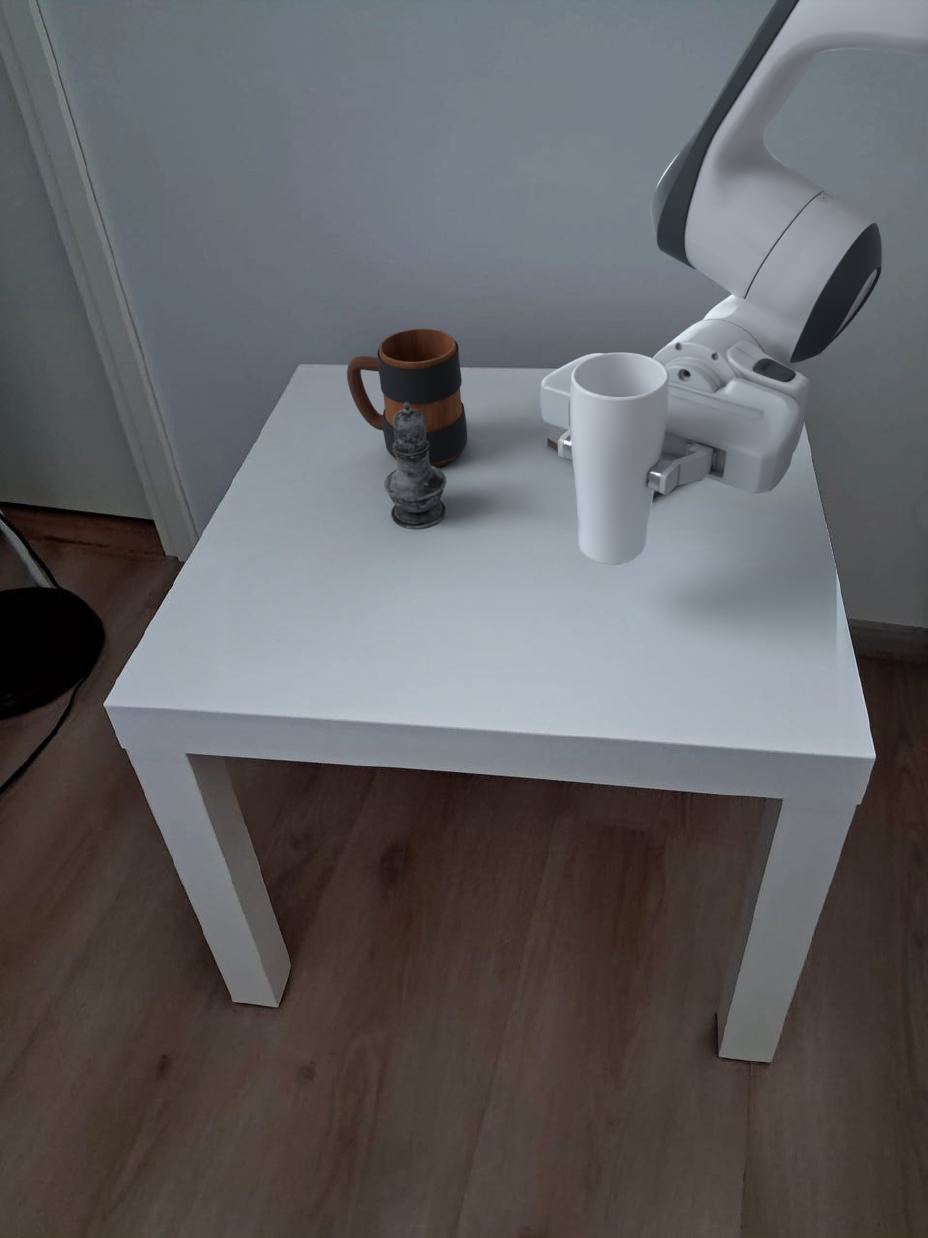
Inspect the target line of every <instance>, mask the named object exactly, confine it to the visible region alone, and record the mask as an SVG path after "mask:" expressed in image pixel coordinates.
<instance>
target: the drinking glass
mask: <svg viewBox="0 0 928 1238" xmlns="http://www.w3.org/2000/svg"><path fill="white" fill-rule="evenodd" d="M668 396H669V373H668V371H667V369H666V368H665V367H664V366H663V365H662V364H661V363H660V362H658V361H657V360H655V359H653V357H650V356H648V355H643V354H640V353H634V352H607V353H603V354H601V355H597V356H594V357H591V358H588V359H586V360H584V361H583V362H581V363H580V364H579V365H577V366H576V367H575V369H574V370H573V372H572V376H571V392H570V437H571V449H572V460H573V461H572V469H573V482H574V493H575V505H576V519H577V545H578V549H579V550H580V552H581V553H582V554H583V555H584V556H585V557H586V558H588V559H589V560H591V561H592V562H595V563H598V564H601V565H606V566H617V565H623V564H629V563H630V562H632V561H634V560H636V559H637V558H639V557H640V556H641V555H642V554H643V552H644V551H645V548H646V545H647V538H648V527H649V521H650V516H651V509H652V505H653V499H654V498H653V494H654V490H652V489H649V488H648V487H647V483H648V482H649V479H648V473H649V470H650V469H651V467H653V466H654V465H656V463H657V462H658V461H659V460H660V457H661V452H662V447H663V441H664V436H665V429H666V421H667V411H668Z"/></svg>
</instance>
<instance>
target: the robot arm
mask: <svg viewBox="0 0 928 1238" xmlns="http://www.w3.org/2000/svg"><path fill="white" fill-rule="evenodd" d="M746 46H747V47H746V48H745V49H744V50H743V53H742V54H741V56H740V57H739V59H738V61H737V62H736V64H735V66H734V67H733V69H732V71H731V72H730V74H729V76H728V77H727V79H726V81H725V82H724V84H723V85H722V87H721V89H720V90H719V92H718V93H717V95H716V96H715V98H714V100H713V102H712V103H711V105H710V107H709V108H708V110H707V112H706V113H705V115H704V116H703V118H702V119H701V121H700V123H699V124H698V126H697V127H696V128H695V130H694V131H693V133H692V134H691V136H690V137H689V139H688V140H687V141H686V143H685V144H684V146H683V147H682V148H681V149H680V151H679V152H678V154H677V155H675V157H674V158H673V160H672V161H671V162H670V163H669V165H668V167H667V168H666V169H665V171H664V172H663V174H662V176H661V178H660V179H659V181H658V183H657V186H656V188H655V190H654V191H653V193H652V194H653V195H652V196H651V199H650V203H649V210H650V212H649V213H650V219H651V226H652V230H653V235H654V239H655V242H656V244H657V247H658V249H659V250H660V251H661V252H663V253H664V254H666V255H667V256H670V257H671V258H673V259H675V260H677V261H679V262H681V263H682V264H683V265H685V266H688V267H689V268H691V269H693V270H697V271H699V272H700V273H701V274H703V275H704V276H706V277H707V278H709V279H710V280H711V281H713V282H714V283H716V284H717V285H719V286H720V287H721V288H722V289H724V290H725V291H726V292H729V293H730V295H729V296H727V297H726V298H724V299H723V300H722V301H720V302H719V303H718V304H716V305H715V306H714V307H713V308H711V309H710V310H709V311H708V313H707V314H706V315H705V316H704V317H703V319H701V320H699V321H697V322H695V323H693V324H691V325H690V326H688V327H687V328H686V329H685V330H684V331H682V332H681V333H680V334H678V335H677V336H676V337H675V338H674V339H672V340H671V341H670V342H668V343H667V344H666V345H664V347H662V348H661V349H659V351H657V352H656V354H654V356H652V358H653V359H655V360H657V361H658V362H660V363H661V364H662V365H663V366H664V367H665V368H666V369H667V371H668V373H669V396H668V411H667V421H666V429H665V436H664V441H663V447H662V452H661V457H660V460H659V461H658V462H657V463H656V465H654V466H653V467H651V469H650V470H649V473H648V479H649V482H648V483H647V487H648V488H649V489H652V490H655V491H657V492H660V493H661V495H662V494H663V495H665V496H667V495H668V494H669V493H671V492H672V490H673V489H674V488H676V487H677V486H683V485H688V484H691V483H697V482H700V481H703V480H704V479H705V478H706V479H709V480H712V481H715V482H717V483H721V484H725V485H726V486H729V487H732V488H736V489H739V490H742V491H744V492H747V493H750V494H753V495H754V494H755V495H756V494H764V493H768V492H772V491H773V490H774V489H775V488H776V487H777V486H778V485H779V484H780V482H781V481H782V479H783V478H784V477H785V475H786V474H787V473H788V470H789V469H790V466H791V464H792V459H793V455H794V453H795V451H796V450H797V447H798V444H799V442H800V439H801V436H802V432H803V429H804V426H805V425H804V424H805V420H806V415H807V410H808V402H809V394H810V380H809V378H808V377H807V376H806V375H804V374H803V373H801V372H799V371H797V370H798V368H799V367H800V366H801V365H802V364H803V362H805V361H807V360H809V359H811V358H814V357H816V356H819V355H821V354H822V353H823V352H824V351H826V349H827V348H828V347H829V346H830V345H831V344H832V343H833V342H834V341H835V340H836V339H837V338H838V337H839V336H840V335H841V334H842V333H843V331H844V330H845V329H846V328H847V327H848V326H849V325H850V324H851V322H852V321H853V320H854V319H855V318H856V316H857V315H858V314H859V312H861V309H862V308H863V307H864V305H865V304H866V302H867V301H868V300H869V298H870V296H871V294H872V293H873V291H874V289H875V287H876V286H877V283H878V282H879V280H880V277H881V274H882V267H883V266H882V264H883V263H882V262H883V249H882V248H883V247H882V244H883V243H882V236H881V232H880V229H879V226H878V223H876V222H874V221H873V220H872V219H870V218H869V217H868V216H866V215H865V214H863V213H862V212H860V211H859V210H858V209H856V208H854V207H853V206H852V205H850V204H848V202H845V201H844V200H843V199H841V198H839V197H838V196H837V195H835V194H833V193H832V192H830V191H829V190H825V189H824V188H822V187H821V186H819V185H818V184H817V183H815V182H814V181H811V180H810V179H809V178H807V177H805V176H804V175H803V174H801V173H800V172H798V171H796V170H795V169H793V168H791V166H789V165H787V164H785V163H784V162H782V161H781V160H779V158H777V157H776V156H775V155H773V153H772V152H771V150H769V148H768V146H767V144H766V142H765V141H766V140H765V137H764V136H765V135H764V134H765V132H766V130H767V129H768V127H769V126H770V124H771V123H772V121H773V120H774V119H775V117H776V116H777V115H778V113H779V112H780V110H781V109H782V107H783V106H784V105H785V103H786V102H787V100H788V99H789V97H790V96H791V94H792V93H793V91H794V90H795V88H796V87H797V86H798V85H799V83H800V81H801V80H802V78H803V77H804V76H805V74H806V73H807V71H808V70H809V69H810V67H811V66H812V64H813V63H814V61H815V60H816V59H817V57H818V56H819V55H820V54H824V53H829V52H835V51H836V52H837V51H869V52H878V53H879V52H880V53H887V54H894V55H900V56H904V57H905V56H906V57H911V58H912V57H913V58H920V59H921V58H923V59H928V0H775V2H774V3H773V5H772V7H771V8H770V9H769V11H768V13H767V14H766V15H765V17H764V19H763V20H762V22H761V24H760V25H759V27H758V28H757V30H756V32H755V33H754V35H753V36H752V37H751V40H750V41H749V43H748V45H746ZM601 354H604V353H602V352H596V353H589V354H586V355H583V356H580V357H579V358H576V359H574V360H572V361H570V362H568V363H567V364H564V365H562V366H561V367H559V368H557V369H555V370H554V371H552V372H550V373H549V374H547V375H546V376H545V377H544V378H543V379H542V381H541V383H540V389H539V406H540V407H539V410H540V414H541V418H542V421H543V422H544V423H546V424H547V425H551V426H554V427H557V428H559V429H562V430H568V431H567V432H565V433H564V434H563V435H562V436H561V437H560V438H559V441H558V451H557V456H558V457H559V458H561V459H564V460H568V461H571V462H573V460H572V449H571V437H570V392H571V376H572V372H573V370H574V369H575V367H576V366H577V365H579V364H580V363H581V362H583V361H584V360H586V359H588V358H591V357H594V356H597V355H601Z"/></svg>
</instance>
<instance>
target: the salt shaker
mask: <svg viewBox="0 0 928 1238" xmlns="http://www.w3.org/2000/svg"><path fill="white" fill-rule="evenodd" d="M410 406H411V405H410V404H409V403H408V402H406V403H405V404H404V405H403V407H404V409H402V410H400V411H398V412H397V413H396V414H395V415H394V417H393V430H394V438H395V443H394V444H393V445H392V452H393V453H394V454H395V455H396V460H395V461H396V469H395V470H393V471H391V472H390V473H389V474H388V475H387V476H386V478H385V480H384V481H383V482H384V483H383V485H384V490H385V492H386V493H387V494H388V497H390V499H391V501H392V503H393V504H394V506H393V507H392V509H391V511H390V513H391V515H390V517H391V518H392V521H393V522H394V523H395V524H396V525H398V526H400V527H402V528H405V529H410V530H411V529H412V530H421V529H422V530H423V529H427V528H431V527H433V526H435V525H437V524H439V523H440V522H441V521H442V520H443V519H444V518H445V516H446V513H447V510H446V509H447V508H446V505H445V503H444V502H443V501H442V500H441V499H442V496H443V494H444V492H445V491H444V490H445V487H446V485H447V476H446V474H445V472H444V471H442V469H440V468H438V467H434V466H430V462H429V451H430V449H431V443H430V441H429V440H427V439H426V429H425V419H424V415H423V414H422V413H421V412H420V411H419V410H417V409H414V408H410Z"/></svg>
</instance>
